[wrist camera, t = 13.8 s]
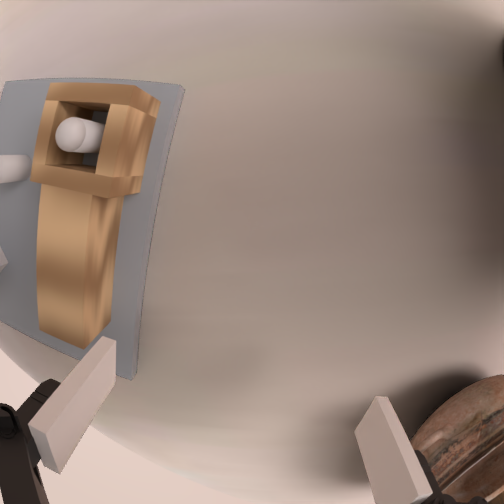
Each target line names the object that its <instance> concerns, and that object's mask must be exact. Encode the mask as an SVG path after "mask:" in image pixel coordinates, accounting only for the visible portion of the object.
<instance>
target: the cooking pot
mask: <svg viewBox="0 0 504 504" xmlns="http://www.w3.org/2000/svg"><path fill="white" fill-rule="evenodd" d="M410 443H411V446H412V448H413V450H419V451H420V452H421V453H422V454H423V455H424V456H425V458H426V460H427V462H428V464H429V465H428V466H430V468H431V470H432V471H431V472H433V474H434V476H435V479H436V481H437V483H438V485H439V487H440V489H441V492H442V493H443V494H448V495H450V496H452V497H453V498H454V499H455V500H456V502H466V503H467V502H468V501H470V500H471V499H472V498H473V497H475V496H480V497H483V498H484V499H486V501H487V502H489V501H491V500H492V499H494V498H495V497H496V496H498V495H499V494H500V493H502V492H503V491H504V375H496V376H492V377H488V378H485V379H483V380H480V381H478V382H475V383H473V384H472V385H470V386H468V387H466V388H464V389H463V390H461V391H460V392H458V393H456V394H455V395H454V396H452V397H451V398H450V399H448V400H447V401H446V402H444V403H443V404H442V405H441V406H440V407H439V408H438V409H436V411H435V412H434V413H433V414H432V415H431V416H430V417H429V418H428V419H427V420H426V421H425V422H424V423H423V425H422V426H421V427H420V428H419V429H418V431H417V432H416V434H415V435H414V437H413V438H412V440H411V442H410Z"/></svg>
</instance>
